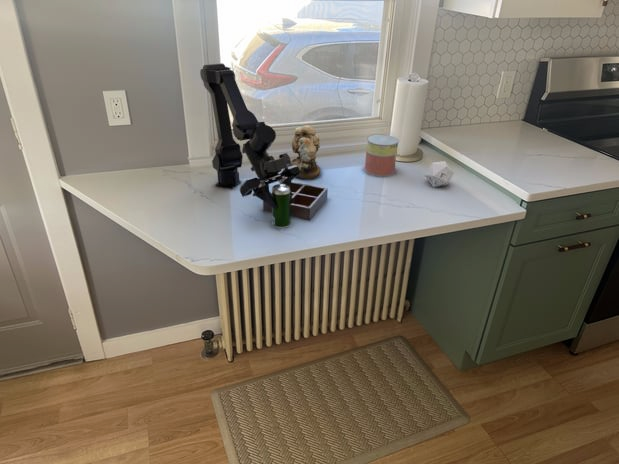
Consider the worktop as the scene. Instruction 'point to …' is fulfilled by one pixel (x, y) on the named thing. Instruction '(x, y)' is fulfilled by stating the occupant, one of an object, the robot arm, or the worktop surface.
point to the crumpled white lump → (439, 174)
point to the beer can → (281, 206)
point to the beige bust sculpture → (306, 152)
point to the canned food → (381, 155)
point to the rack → (304, 200)
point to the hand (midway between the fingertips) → (284, 206)
